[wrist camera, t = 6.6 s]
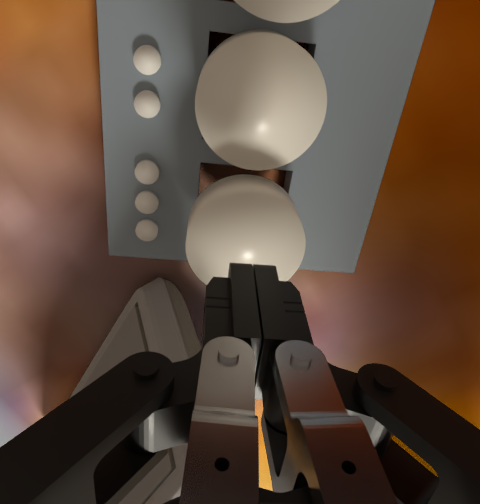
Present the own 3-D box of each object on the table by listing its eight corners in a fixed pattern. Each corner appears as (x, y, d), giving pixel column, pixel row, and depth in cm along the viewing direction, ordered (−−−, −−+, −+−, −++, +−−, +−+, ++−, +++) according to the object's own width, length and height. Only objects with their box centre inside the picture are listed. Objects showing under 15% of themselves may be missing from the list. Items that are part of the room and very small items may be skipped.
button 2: (319, 33, 17) (340, 42, 14) (298, 147, 19) (312, 175, 16) (202, 18, 17) (199, 25, 14) (195, 137, 19) (191, 164, 16)
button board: (458, -140, 15) (485, -155, 13) (346, 257, 23) (355, 276, 21) (97, -201, 14) (82, -225, 12) (115, 239, 22) (107, 258, 20)
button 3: (301, 165, 19) (316, 198, 16) (283, 256, 21) (294, 300, 18) (193, 155, 18) (188, 187, 15) (187, 249, 20) (182, 292, 18)
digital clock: (163, 253, 22) (126, 432, 13) (282, 339, 26) (317, 528, 17) (7, 411, 28) (-94, 612, 19) (122, 464, 32) (83, 656, 23)
